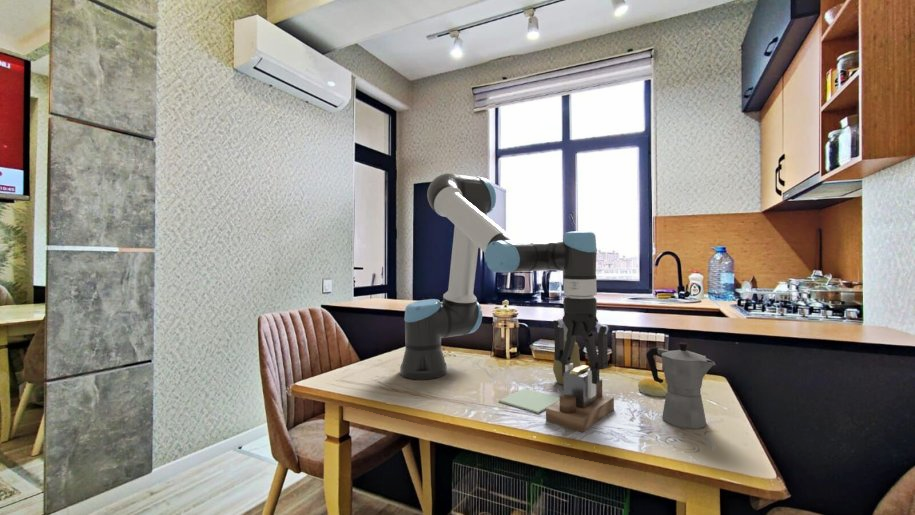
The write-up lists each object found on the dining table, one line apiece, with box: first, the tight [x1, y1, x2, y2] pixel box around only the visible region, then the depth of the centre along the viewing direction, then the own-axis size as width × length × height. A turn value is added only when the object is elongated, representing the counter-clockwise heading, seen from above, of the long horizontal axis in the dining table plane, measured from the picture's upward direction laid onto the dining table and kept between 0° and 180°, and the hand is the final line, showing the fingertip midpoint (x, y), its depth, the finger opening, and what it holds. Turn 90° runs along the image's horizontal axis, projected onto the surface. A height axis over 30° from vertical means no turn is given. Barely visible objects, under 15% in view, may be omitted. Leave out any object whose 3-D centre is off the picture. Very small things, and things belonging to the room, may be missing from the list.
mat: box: [498, 387, 560, 414], centre depth 107 cm, size 12×12×1 cm
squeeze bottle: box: [552, 324, 581, 386], centre depth 121 cm, size 8×8×18 cm
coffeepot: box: [645, 341, 716, 430], centre depth 94 cm, size 15×9×18 cm, turn 35°
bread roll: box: [637, 376, 667, 397], centre depth 113 cm, size 8×9×4 cm
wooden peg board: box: [545, 378, 615, 433], centre depth 97 cm, size 17×9×7 cm, turn 137°
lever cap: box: [563, 365, 597, 408], centre depth 97 cm, size 5×7×8 cm
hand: (580, 393), depth 98 cm, fingers closed on lever cap, 5 cm apart
